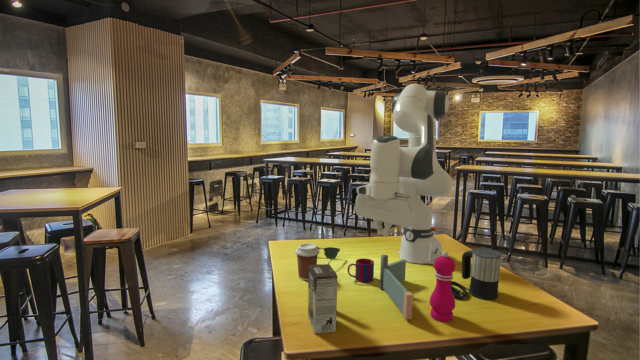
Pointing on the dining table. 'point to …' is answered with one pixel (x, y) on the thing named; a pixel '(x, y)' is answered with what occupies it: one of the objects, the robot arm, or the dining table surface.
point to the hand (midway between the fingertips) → (382, 235)
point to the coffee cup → (306, 258)
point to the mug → (363, 270)
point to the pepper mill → (443, 289)
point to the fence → (392, 269)
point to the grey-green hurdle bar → (398, 294)
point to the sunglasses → (330, 252)
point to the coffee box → (322, 298)
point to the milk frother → (480, 274)
